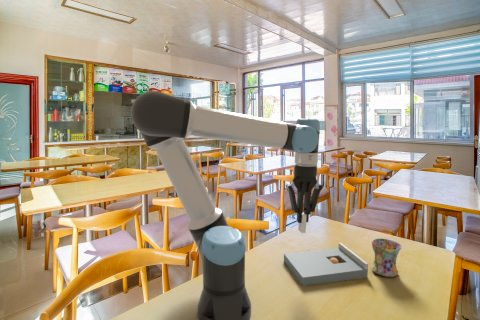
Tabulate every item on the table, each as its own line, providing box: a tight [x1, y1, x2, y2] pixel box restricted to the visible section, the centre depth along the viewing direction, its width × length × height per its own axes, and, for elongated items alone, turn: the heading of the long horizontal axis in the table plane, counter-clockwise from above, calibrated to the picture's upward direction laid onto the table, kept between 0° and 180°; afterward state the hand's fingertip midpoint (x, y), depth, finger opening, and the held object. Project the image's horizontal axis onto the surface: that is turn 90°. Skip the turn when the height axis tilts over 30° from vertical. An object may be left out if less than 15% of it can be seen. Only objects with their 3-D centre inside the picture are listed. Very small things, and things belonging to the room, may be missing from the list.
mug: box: [370, 238, 402, 278], centre depth 104 cm, size 12×9×11 cm
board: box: [283, 242, 369, 287], centre depth 105 cm, size 24×17×5 cm
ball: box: [330, 258, 339, 264], centre depth 107 cm, size 4×4×4 cm
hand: (301, 231), depth 102 cm, fingers closed
